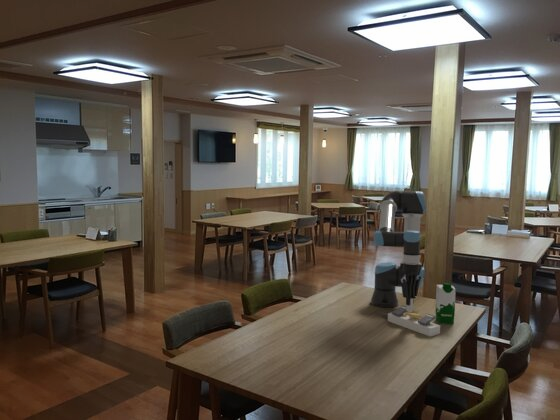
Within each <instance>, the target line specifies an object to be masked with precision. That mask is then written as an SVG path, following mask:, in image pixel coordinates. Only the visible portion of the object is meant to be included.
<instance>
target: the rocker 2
mask: <svg viewBox="0 0 560 420" xmlns="http://www.w3.org/2000/svg"><path fill="white" fill-rule="evenodd" d="M404 315H407V316H410V317H417V318H420V319H421V318H423V316H422V315H421V314H418V313H415V312H408V311H406V312H405V314H404Z"/></svg>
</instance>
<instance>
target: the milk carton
mask: <svg viewBox="0 0 560 420" xmlns="http://www.w3.org/2000/svg"><path fill="white" fill-rule="evenodd" d="M435 292H436V293H435V294H436V295H435V316H436V320H437V322H438V324H446V325H449V324H451V325H452V324H455V323H454V321H455V316H456V315H455V311H456V288H455V286H453V284H452V283H451V282H443V283H442V284H436V291H435Z"/></svg>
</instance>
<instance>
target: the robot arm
mask: <svg viewBox="0 0 560 420" xmlns="http://www.w3.org/2000/svg"><path fill="white" fill-rule="evenodd" d="M426 205H427V204H426V197H425V193H424V192H423V191H417V190H394V191H391V192H389V193H388V194H386V195H385V196H384V197H383V198H382V199H381V201H380V203H379V211H380V217H379V228H378V230H375V231H374V232H373V245H374V246H377V247H378V246H379V247H388V248H389V247H394V248H403V252H402V253H403V255H402V261H400V263H399V264H400V265H397V263H395V262H390V261H389V262H381V263H377V264H376V265H375V268H374V291H373V293H372V295H371V298H370V303H371V305H372V306H375V307H380V308H395V307H397V306H399V299H398V297H397V292H396V287H397V288H401V292H402V297H403V298H404V299H405V305H406V312H408V313H414V304H415V303H414V302H415V299H416V297H418V294H419V293H418V291H419V288H421V287H422V285H423V280H424V274H425V267H423V266H422V262H421V261H420V250H421V218H422V217H424V213H426V212H427V206H426ZM396 212H401V216H402V217H403V218H404V222H403V225H404V227H403V228H404V229H403V231H395V215H396Z"/></svg>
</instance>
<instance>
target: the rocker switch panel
mask: <svg viewBox="0 0 560 420" xmlns="http://www.w3.org/2000/svg"><path fill="white" fill-rule="evenodd" d="M392 312H393V311H391V312H388V313H386V312H383V311H380V312H379V313H380V315H383V316H386V317H387V322H390V323H393V324H395V325H397V326H400V327H402V328H406V329H408V330H410V331H411V330H412V331H414V332H417V333H419V334H422V335H424V336H427V337H431V338H432V337H434V336H437V335H440V334H441V325H440V324H439V323H438V324H437V323H434V322H432V321H431V322H430V323H428V324H427V325H422V324H419V323H418V320H420V319H421V318H417V317H410V316H407V315H404V314H405V313H403V314H401V315H400V316H396V315H393V314H392Z"/></svg>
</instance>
